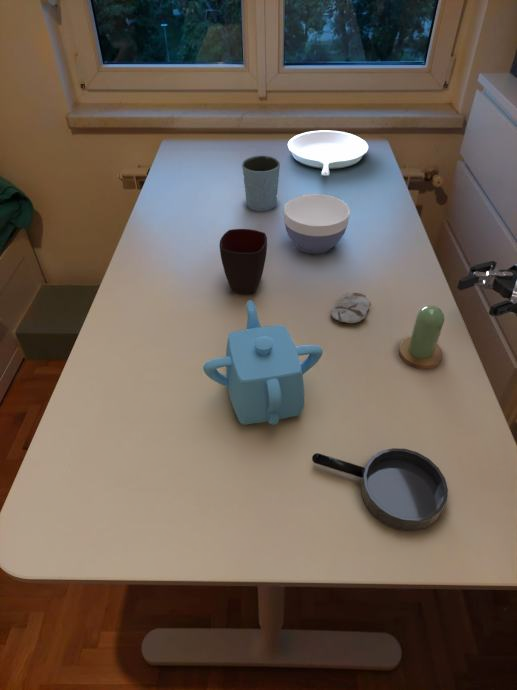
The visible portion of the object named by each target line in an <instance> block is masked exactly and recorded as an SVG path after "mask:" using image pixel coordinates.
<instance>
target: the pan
mask: <svg viewBox="0 0 517 690" xmlns="http://www.w3.org/2000/svg"><path fill="white" fill-rule="evenodd" d="M287 148H288V150H289V152H291V155H292V157H293V158H294V159H295V160H296V161H297V162H298V163H300V164H302V165H305V166H308V167H312V168H315V169H321V170H322V171H321V176H323V177H328V176H330V173H331V172H330V170H338V169H344V168H348V167H351V166H354V165H356V164H357V163H358V162H360V161H361V160H362V159H363V156H365V154H367V153H368V151H369V145H368V143H367V142H366V140H365V139H363V138H361V137H359V136H357V135H355V134H353V133H350V132H349V133H348V132H345V131H338V130H326V129H325V130H323V129H322V130H321V129H320V130H311V131H306V132H302V133H299V134H296V135H294V136H293V137H292V138H290V139H289V141H288V142H287Z"/></svg>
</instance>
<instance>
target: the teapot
mask: <svg viewBox="0 0 517 690" xmlns="http://www.w3.org/2000/svg"><path fill="white" fill-rule="evenodd" d="M246 312H247V314H246V315H247V318H246V325H245V328H244V329H240V330H234V331H230V332H229V333H228V335H227V343H226V351H225V356H222V357H215V358H212V359H209V360H208V361H206V362H204V364H203V367H202V368H203V369H202V371H203V372H204V374H205V375H206V376H207V377H208V378H209V379H210V380H211V381H214V382H216V383H218V384H220V385H221V386H224V387H226V388H227V392H228V395H229V398H230V399H229V400H230V403H231V405H232V408H233V411H234V414H235V415H236V418H237V420H238V422H239V423H240V424H241V425H253V424H260V423H266V422H267V423H268V424H269V425H272V426H273V425H275V426H276V425H278V424H279V422H280V420H284V419H290V418H294V417H297V416H300V415H301V414H302V412H303V410H304V407H305V384H304V383H305V382H304V376H303V375H305V374H306V373H307V372H308V371H309V370H310V369H311V368H313V367H314V366H315V365H316V364H317V363H318V362H319V361H320V359H321V357H322V356H323V349H322V347H321V346H319V345H318V344H317V345H316V344H305V345H304V344H303V345H296V344H295V342H294V340H293V338H292V336H291V334H290V332H289V330H288V329H287V327H286V326H285V325H284V324H277V325H268V326H261V323H260V319H259V315H258V311H257V307H256V304H255V302H254V301H253V300H247V302H246ZM295 345H296V346H295ZM306 355H307V357H306V358H305V359H304V360H303V361H302V362H301V360H300V357H299V356H306ZM221 368H225V375H224V374H222V373H221V372H220V371H218V369H221Z"/></svg>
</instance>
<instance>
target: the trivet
mask: <svg viewBox="0 0 517 690" xmlns="http://www.w3.org/2000/svg"><path fill="white" fill-rule="evenodd" d="M410 340H411V337H408V338H405V339H404V340H402V342H401V343H400V345H399V349H398V354H399V357H400V358H401V360H402V361H403V362H404V363H405V364H406V365H408V366H410V367H412V368H414V369H418V370H419V369H420V370H429V369H433V368H436V367H437V366H438V365H439V364H441V361H442V359H443V351H442V348H441V347H440V345H439V344H437V345H436V348H435V351H434V354H433V356H432V357H430V358H427V359H420V358H417V357H415V356H413V355H412V354H411V353H410V352H409V350H408V347H409V343H410Z"/></svg>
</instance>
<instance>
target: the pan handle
mask: <svg viewBox="0 0 517 690" xmlns="http://www.w3.org/2000/svg"><path fill="white" fill-rule="evenodd" d="M311 461H312V462H313V463H314V464H316V465H319V466H321V467H325V468H329V469H332V470H335V471H338V472H342V473H344V474H348V475H350V476H354V477H357V478H362V479H363V474H364V471H365V466H361V465H359V464H355V463H351V462H348V461H344V460H341V459H338V458H335V457H332V456H327V455H326V454H322V453H319V452H318V453H317V452H315V453H313V455H312V457H311Z"/></svg>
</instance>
